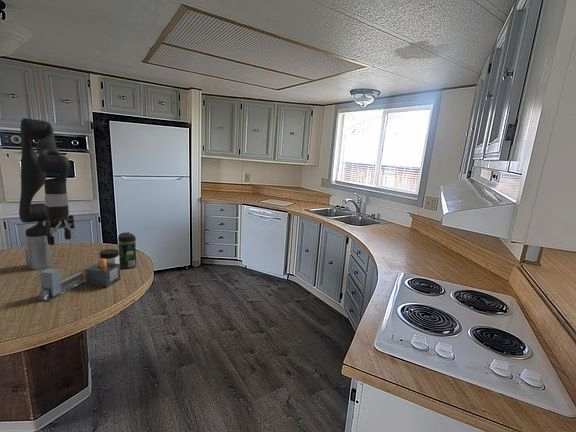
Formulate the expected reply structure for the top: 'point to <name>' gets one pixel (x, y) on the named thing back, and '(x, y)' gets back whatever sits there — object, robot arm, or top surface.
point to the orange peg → (103, 263)
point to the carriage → (51, 280)
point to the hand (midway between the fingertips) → (59, 241)
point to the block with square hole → (102, 275)
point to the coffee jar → (127, 250)
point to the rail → (63, 287)
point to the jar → (110, 256)
